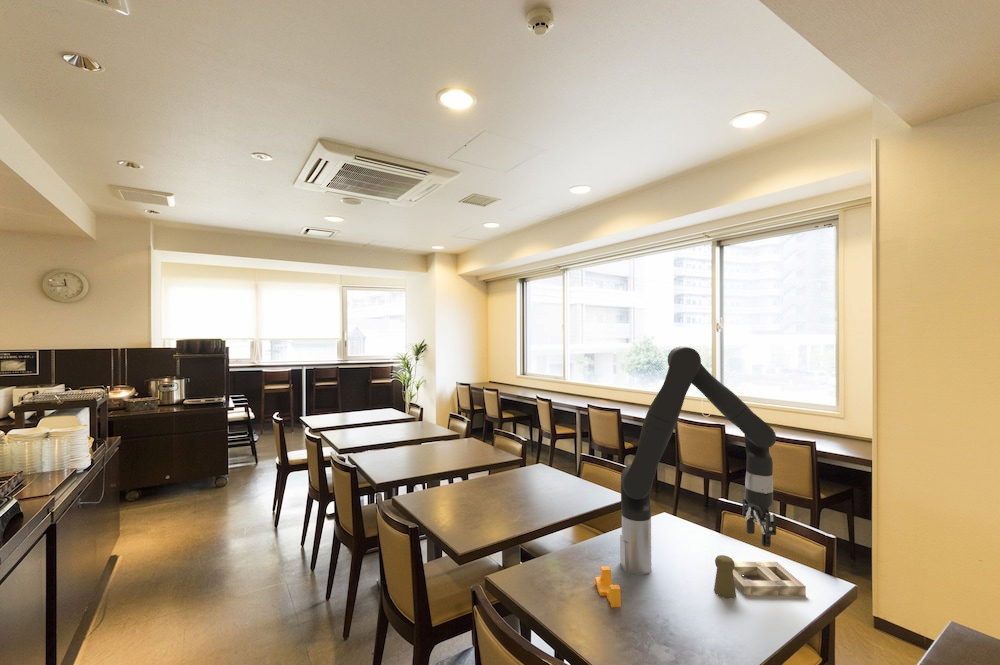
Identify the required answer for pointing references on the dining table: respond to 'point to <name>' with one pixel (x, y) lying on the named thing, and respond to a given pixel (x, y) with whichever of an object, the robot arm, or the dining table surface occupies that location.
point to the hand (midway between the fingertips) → (758, 539)
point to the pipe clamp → (608, 587)
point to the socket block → (766, 579)
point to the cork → (724, 577)
